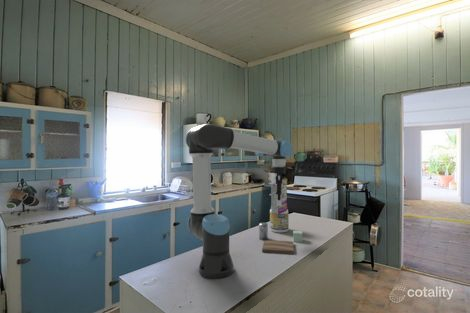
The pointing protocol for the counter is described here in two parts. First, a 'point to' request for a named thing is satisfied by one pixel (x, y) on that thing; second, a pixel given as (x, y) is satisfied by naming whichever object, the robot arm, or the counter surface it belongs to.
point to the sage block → (297, 236)
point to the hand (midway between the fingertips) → (279, 203)
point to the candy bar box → (274, 207)
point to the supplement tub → (279, 222)
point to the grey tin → (263, 231)
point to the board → (278, 247)
